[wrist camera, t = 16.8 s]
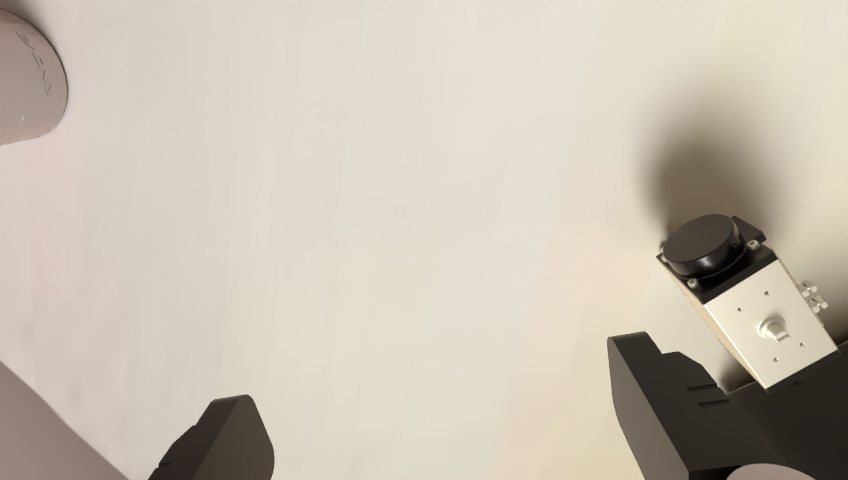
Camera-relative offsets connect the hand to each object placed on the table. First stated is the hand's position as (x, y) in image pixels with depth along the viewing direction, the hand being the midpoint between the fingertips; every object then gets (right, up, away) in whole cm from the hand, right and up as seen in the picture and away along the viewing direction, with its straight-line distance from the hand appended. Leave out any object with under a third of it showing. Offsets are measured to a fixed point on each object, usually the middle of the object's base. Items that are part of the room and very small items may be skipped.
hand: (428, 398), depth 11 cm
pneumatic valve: (+21, +3, +29) cm, 36 cm away
